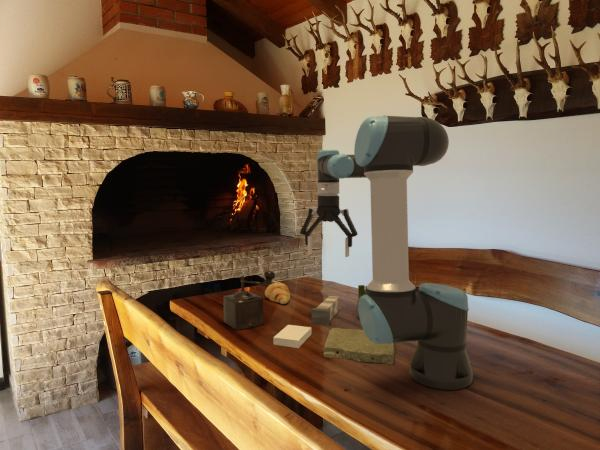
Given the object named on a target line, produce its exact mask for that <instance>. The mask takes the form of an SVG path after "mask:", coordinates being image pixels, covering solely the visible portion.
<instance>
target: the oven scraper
mask: <svg viewBox="0 0 600 450" xmlns="http://www.w3.org/2000/svg"><path fill="white" fill-rule="evenodd" d="M339 311H340V296H333V295H328V296H327V297H326V298H325V299H324V300H323V301H322V302H321V303H320V304H318V306H317V307H312V308H311V325H312V324H313V325H321V326H328V327H329V326H330V324H331V320H332V319H333V318H334V317H335V315H336V314H337V313H338V312H339Z"/></svg>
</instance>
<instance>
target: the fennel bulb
mask: <svg viewBox="0 0 600 450" xmlns="http://www.w3.org/2000/svg"><path fill="white" fill-rule="evenodd" d="M357 287H358V288H357V289H358V298H357V303H356V313H357V314H356V315H357V317H358V318H359V312H358V303H359V299H360V297H362V296H363V295H367V285H364V284H358V285H357Z"/></svg>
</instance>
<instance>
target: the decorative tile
mask: <svg viewBox="0 0 600 450" xmlns="http://www.w3.org/2000/svg"><path fill="white" fill-rule="evenodd" d="M395 347H396V343H392V344H376V343H373V342H372V341H370V340H369V339H368V337H367V336H366V334H365V332H364V330H363V329H356V328H354V329H353V328H340V327H332V328H331V329H329V332H328V335H327V337H326V340H325V344H324V348H323V357H324V358H327V359H330V358H332V359H333V358H334V359H336V358H338V359H345V360H352V361H356V362H361V363H363V362H365V363H372V364H373V363H375V364H378V363H379V364H387V365H388V364H389V365H394V364H395V355H396V354H395V349H396V348H395Z"/></svg>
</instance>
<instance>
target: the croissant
mask: <svg viewBox="0 0 600 450" xmlns="http://www.w3.org/2000/svg"><path fill="white" fill-rule="evenodd" d="M264 296H265V298H267V299H268V300H269V301H271V302H275V303H278V304H281V305H286V304H288V303H289V302H290V299H291V292H290V290H289V287H288V285H287V284H285V283H282V282H280V281H276V282H275V281H274V282H273V283H272V284H269V285H267V287H266V289H265V290H264Z"/></svg>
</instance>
